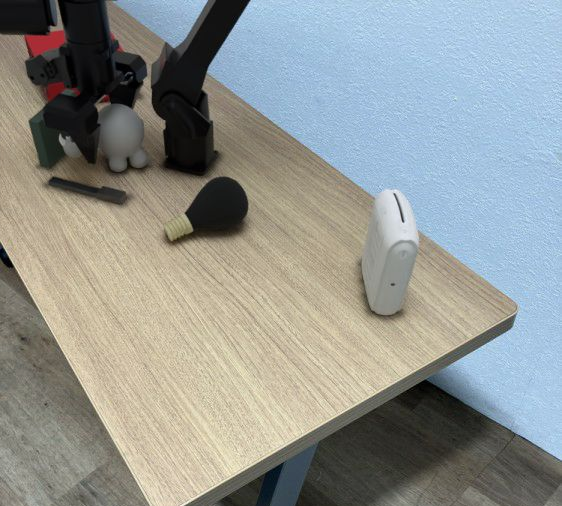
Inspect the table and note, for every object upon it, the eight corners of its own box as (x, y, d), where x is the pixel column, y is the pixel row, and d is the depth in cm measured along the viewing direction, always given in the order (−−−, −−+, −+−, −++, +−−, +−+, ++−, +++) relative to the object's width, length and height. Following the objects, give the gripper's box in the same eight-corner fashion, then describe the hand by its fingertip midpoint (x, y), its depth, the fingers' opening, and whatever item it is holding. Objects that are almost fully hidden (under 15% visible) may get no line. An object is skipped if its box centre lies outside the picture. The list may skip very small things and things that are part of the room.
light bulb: (156, 210, 76) (240, 167, 78) (148, 209, 82) (226, 169, 84) (182, 259, 78) (262, 216, 80) (172, 254, 84) (247, 214, 87)
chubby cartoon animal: (62, 156, 92) (49, 101, 85) (142, 145, 95) (135, 91, 88) (70, 184, 88) (56, 127, 81) (153, 171, 91) (146, 116, 84)
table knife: (127, 197, 86) (126, 191, 86) (121, 204, 85) (120, 198, 85) (54, 179, 88) (53, 172, 87) (47, 185, 87) (46, 179, 86)
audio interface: (30, 62, 110) (23, 33, 106) (109, 52, 114) (105, 23, 110) (53, 111, 100) (46, 80, 96) (138, 97, 104) (134, 67, 100)
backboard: (84, 135, 96) (75, 90, 90) (50, 168, 90) (38, 122, 84) (75, 132, 96) (65, 88, 91) (40, 165, 90) (27, 120, 85)
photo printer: (403, 316, 75) (428, 235, 65) (369, 316, 74) (389, 234, 65) (389, 261, 81) (410, 179, 72) (357, 260, 81) (374, 178, 71)
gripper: (68, -3, 85) (89, 106, 97) (-13, 51, 73) (22, 168, 85) (142, 12, 83) (154, 122, 95) (71, 70, 72) (94, 186, 84)
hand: (107, 147), depth 90 cm, fingers open, 9 cm apart
